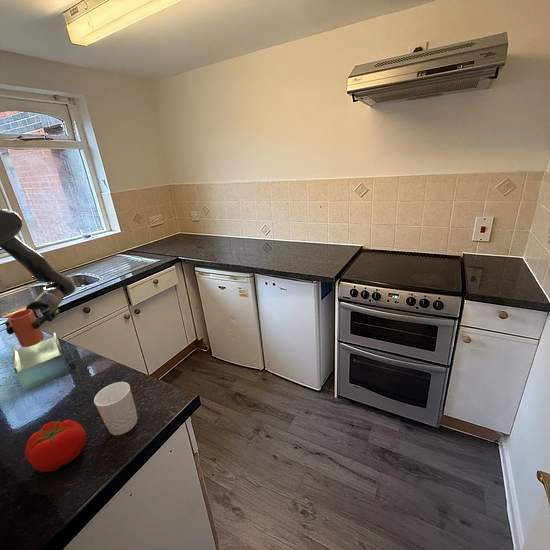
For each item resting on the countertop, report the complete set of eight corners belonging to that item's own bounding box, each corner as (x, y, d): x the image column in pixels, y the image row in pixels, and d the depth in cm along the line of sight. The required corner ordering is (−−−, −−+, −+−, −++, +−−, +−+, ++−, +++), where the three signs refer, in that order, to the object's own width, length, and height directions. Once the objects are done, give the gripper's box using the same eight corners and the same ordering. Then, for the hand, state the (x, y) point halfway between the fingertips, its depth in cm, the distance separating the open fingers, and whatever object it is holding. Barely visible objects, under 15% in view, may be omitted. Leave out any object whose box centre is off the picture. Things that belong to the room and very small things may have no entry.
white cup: (99, 432, 74) (86, 400, 70) (126, 408, 80) (115, 378, 77) (121, 442, 70) (108, 409, 67) (147, 416, 77) (136, 386, 73)
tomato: (93, 460, 67) (80, 431, 63) (33, 492, 61) (15, 463, 58) (88, 429, 75) (77, 402, 72) (35, 455, 69) (20, 427, 66)
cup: (17, 349, 92) (3, 321, 89) (26, 338, 98) (13, 312, 94) (40, 344, 94) (27, 316, 90) (47, 334, 99) (36, 307, 96)
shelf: (22, 368, 102) (12, 347, 99) (63, 352, 109) (55, 332, 106) (24, 391, 91) (13, 368, 88) (70, 371, 98) (61, 350, 95)
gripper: (15, 301, 103) (-12, 324, 88) (62, 292, 107) (44, 313, 92) (24, 319, 106) (-1, 345, 91) (69, 310, 110) (53, 333, 95)
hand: (22, 329), depth 92 cm, fingers closed on cup, 6 cm apart
